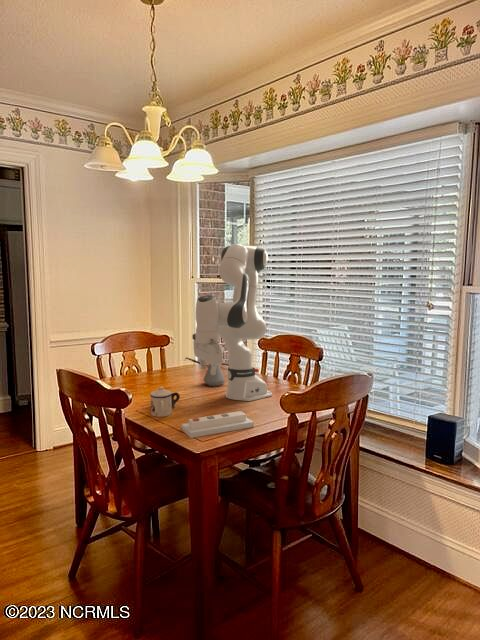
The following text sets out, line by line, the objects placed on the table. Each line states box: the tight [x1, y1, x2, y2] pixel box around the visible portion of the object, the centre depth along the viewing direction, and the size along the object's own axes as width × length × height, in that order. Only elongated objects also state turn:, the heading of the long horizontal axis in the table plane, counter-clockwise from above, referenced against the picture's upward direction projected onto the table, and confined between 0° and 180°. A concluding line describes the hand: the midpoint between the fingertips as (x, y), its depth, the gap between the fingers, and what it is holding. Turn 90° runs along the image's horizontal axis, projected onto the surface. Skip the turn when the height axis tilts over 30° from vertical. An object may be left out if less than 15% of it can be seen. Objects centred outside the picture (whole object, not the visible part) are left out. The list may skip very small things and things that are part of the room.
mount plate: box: [181, 416, 255, 439], centre depth 175 cm, size 26×10×2 cm, turn 116°
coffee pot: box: [184, 356, 226, 387], centre depth 240 cm, size 21×12×15 cm, turn 96°
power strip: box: [188, 410, 247, 429], centre depth 175 cm, size 22×4×5 cm, turn 116°
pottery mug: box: [171, 391, 181, 409], centre depth 203 cm, size 12×10×8 cm
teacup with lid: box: [149, 386, 173, 418], centre depth 190 cm, size 12×9×12 cm
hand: (208, 371), depth 180 cm, fingers open, 8 cm apart
